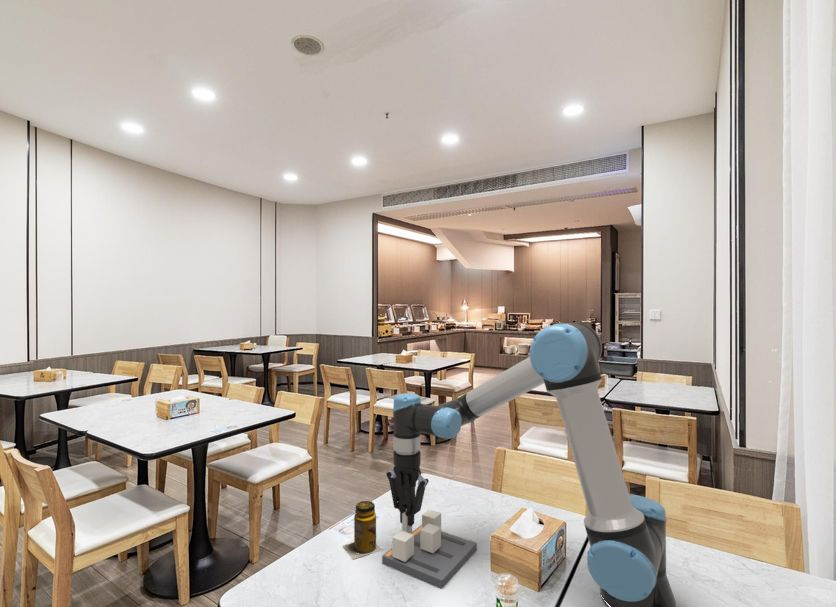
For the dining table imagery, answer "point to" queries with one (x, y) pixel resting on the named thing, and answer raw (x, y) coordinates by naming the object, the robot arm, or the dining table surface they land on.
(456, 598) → the dining table surface
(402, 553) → the block
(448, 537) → the grey slotted panel board
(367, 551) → the condiment
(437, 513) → the block
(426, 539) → the block
